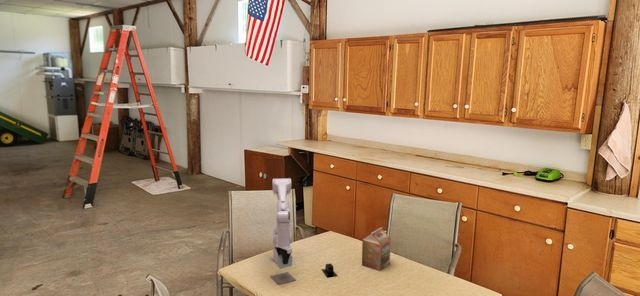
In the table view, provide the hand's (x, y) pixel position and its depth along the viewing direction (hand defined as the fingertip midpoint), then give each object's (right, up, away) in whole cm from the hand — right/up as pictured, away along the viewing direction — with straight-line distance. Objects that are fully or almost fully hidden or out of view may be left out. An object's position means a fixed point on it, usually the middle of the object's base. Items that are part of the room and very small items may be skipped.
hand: (283, 262), depth 206 cm
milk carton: (+47, -6, +18) cm, 50 cm away
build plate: (+22, -8, +8) cm, 25 cm away
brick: (0, -2, +1) cm, 2 cm away
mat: (0, -8, +1) cm, 9 cm away
